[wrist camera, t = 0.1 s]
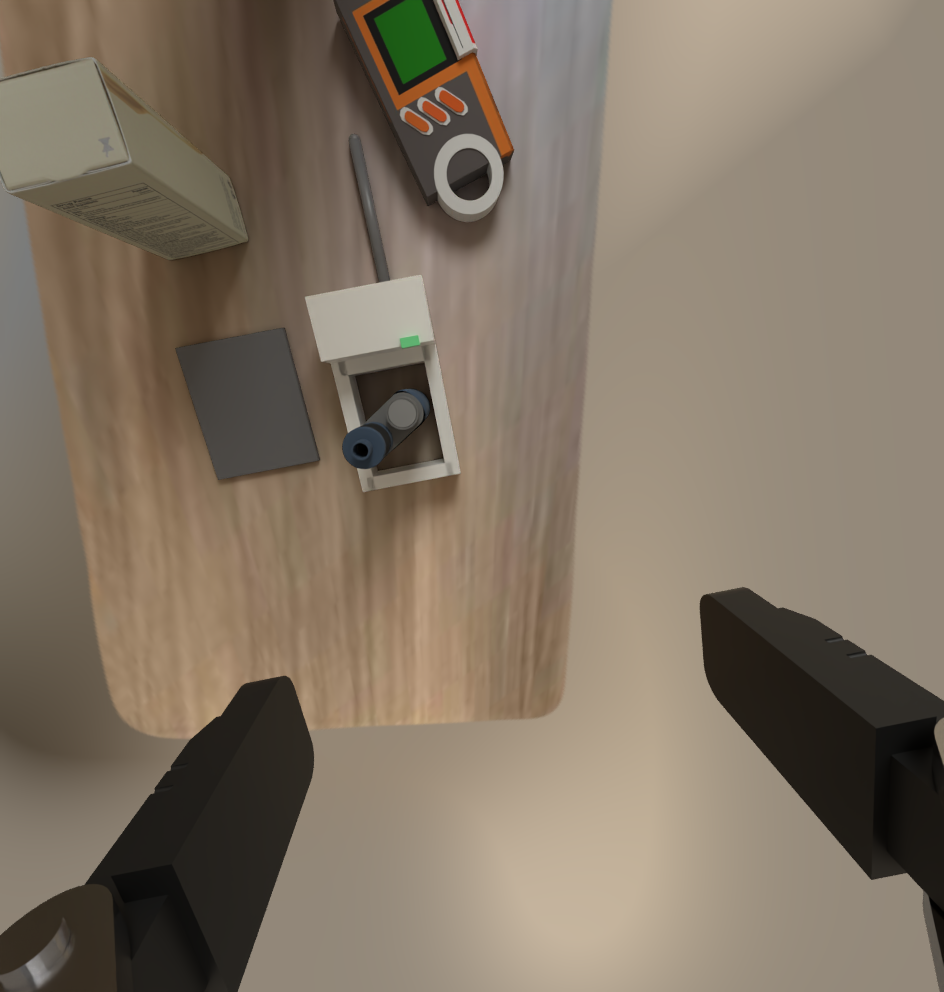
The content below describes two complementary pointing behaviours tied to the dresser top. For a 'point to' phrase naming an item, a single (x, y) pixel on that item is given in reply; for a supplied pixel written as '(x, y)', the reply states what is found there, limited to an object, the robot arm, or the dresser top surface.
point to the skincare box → (111, 162)
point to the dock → (381, 343)
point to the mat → (249, 403)
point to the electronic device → (432, 96)
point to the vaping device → (386, 428)
